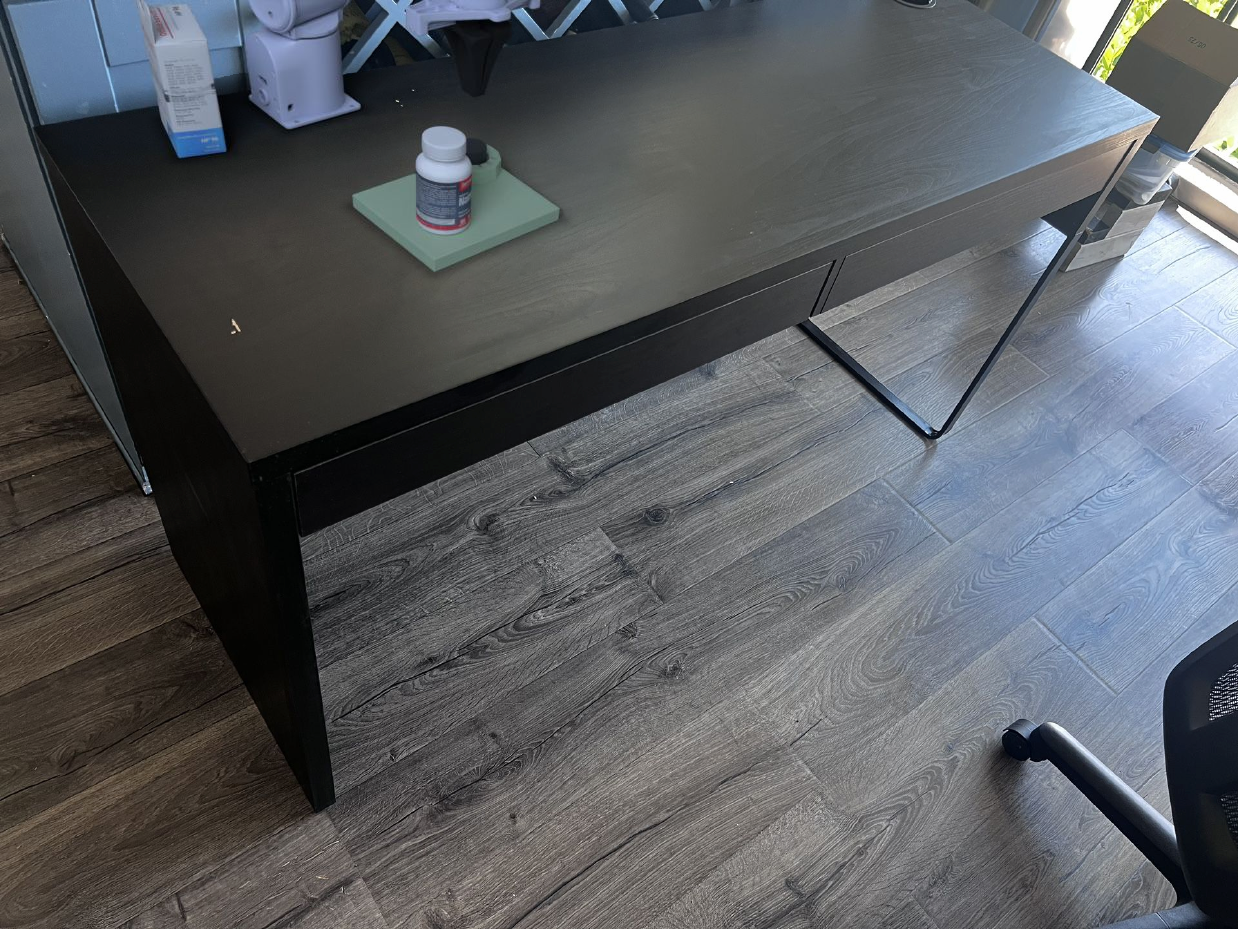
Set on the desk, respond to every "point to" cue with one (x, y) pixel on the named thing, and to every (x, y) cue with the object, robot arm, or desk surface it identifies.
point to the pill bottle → (443, 182)
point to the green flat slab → (494, 214)
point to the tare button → (476, 151)
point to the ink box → (182, 78)
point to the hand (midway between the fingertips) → (473, 91)
